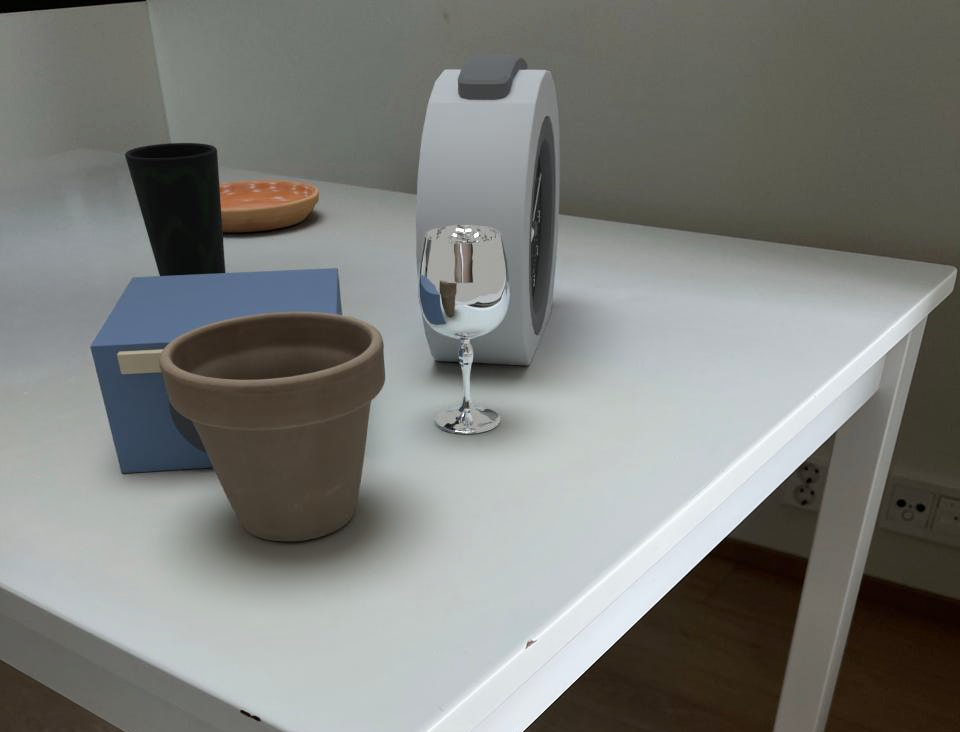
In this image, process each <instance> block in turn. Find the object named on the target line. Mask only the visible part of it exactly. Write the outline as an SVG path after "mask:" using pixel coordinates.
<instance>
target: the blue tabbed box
mask: <svg viewBox="0 0 960 732" xmlns="http://www.w3.org/2000/svg"><path fill="white" fill-rule="evenodd" d="M340 286H341V285H340V277H339V268H338V267H329V268H328V267H327V268H307V269H288V270H287V269H285V270H263V271H243V272H225V273H218V274H196V275H175V276H160V275H155V276H133V277H132V278H131V279H130V281H129V283H128V284H127V285H126V288H125V289H124V291H123V292H122V293H121V296H120V297H119V299H118V300H117V302H116V304H115V305H114V307H113V308H112V310H111V312H110V313H109V315H108V317H107V318H106V320H105V322H104V323H103V325H102V326H101V328H100V329H99V332H97V334H96V336H95V337H94V339H93V340H92V343H91V344H90V347H89V348H90V352H91V356H92V360H93V363H94V364H93V365H94V368H95V371H96V376H97V380H98V384H99V388H100V392H101V396H102V400H103V403H104V404H103V405H104V407H105V413H106V416H107V421H108V425H109V429H110V432H111V436H112V437H111V438H112V441H113V445H114V450H115V453H116V457H117V461H118V465H119V469H120V473H121V474H129V473H130V474H132V473H147V472H165V471H180V470H181V471H182V470H199V469H214V468H213V465H212V463H211V461H210V459H209V456H208V454H207V452H206V450H205V447H204V445H203V443H202V441H201V438H200V436H199V434H198V432H197V430H196V428H195V426H194V424H193V422H192V420H190V419H188V418H186V417H184V416H183V415H181V414H180V413H179V412H177V411H176V410H175V409H174V408H173V406H172V405H171V403H170V400H169V397H168V394H167V390H166V386H165V382H164V378H163V374H162V371H161V369H160V364H159V358H160V354H161V352H162V350H163V349H164V348H165V347H166V346H167V345H168V344H169V343H170V342H171V341H173V340H174V339H176V338H177V337H179V336H181V335H183V334H185V333H187V332H189V331H192V330H194V329H196V328H199V327H202V326H205V325H208V324H212V323H215V322H219V321H223V320H227V319H232V318H237V317H243V316H249V315H257V314H264V313H277V312H320V313H330V314H338V315H343V307H342V298H341V288H340Z"/></svg>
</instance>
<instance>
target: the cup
mask: <svg viewBox="0 0 960 732" xmlns="http://www.w3.org/2000/svg"><path fill="white" fill-rule="evenodd" d="M124 158H125V160H126V164H127V167H128V171H129V174H130V178H131V180H132V185H133V188H134V192H135V195H136V199H137V202H138V206H139V209H140V213H141V216H142V219H143V223H144V226H145V231H146V234H147V236H148V240H149V244H150V247H151V251H152V254H153V258H154V261H155V264H156V268H157V272H158V276H175V275H196V274H218V273H226V262H225V248H224V247H225V246H224V232H223V229H222V215H221V200H220V186H219V184H220V172H219V162H218V161H219V157H218V149H217V147H216V146H214V145H212V144H207V143H199V142H173V143H172V142H170V143H159V144H158V143H157V144H149V145H145V146H144V145H143V146H139V147H135V148H131V149H129V150H127V151H126V152H125V153H124Z"/></svg>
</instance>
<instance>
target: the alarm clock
mask: <svg viewBox="0 0 960 732" xmlns="http://www.w3.org/2000/svg"><path fill="white" fill-rule="evenodd" d="M434 81H435V82H434V84H433V87H432V90H431V93H430V96H429V99H428V103H427V106H426V113H425V117H424V118H425V119H424V121H423V127H422V133H421V138H420V139H421V140H420V150H419V158H418V159H419V160H418V169H417V183H416V203H415V205H416V207H415V240H416V241H415V243H416V244H415V246H416V248H415V250H416V253H415V254H416V272H417V276H418V275H419V265H420V258H421V252H422V247H423V241H424V236H425V233H426V232H427V231H429V230H432V229H435V228H438V227H444V226H451V225H481V226H487V227H492V228H495V229H497V230H499V231H500V232H501V236H502V240H503V244H504V248H505V253H506V257H507V262H508V268H509V276H510V301H509V308H508V311H507V314H506V316H505V318H504V320H503V321H502V323H501V324H500V325H499V326H498V327H497V328H496V329H495V330H494V331H492V332H491V333H489V334H487V335H485V336H482V337H480V338H477V339H472V340H470V344H471V346H472V348H473V354H474V355H473V362H472V364H489V365H509V366H530V365H531V364H532V361H533V359H534V356H535V353H536V351H537V349H538V346H539V343H540V342H541V338H542V336H543V333H544V331H545V328H546V326H547V323H548V321H549V319H550V316H551V314H552V313H551V312H552V306H553V298H554V287H555V277H556V267H557V253H558V241H559V239H558V238H559V220H560V219H559V218H560V194H561V193H560V187H561V186H560V185H561V183H560V182H561V180H560V179H561V154H560V153H561V150H560V145H561V144H560V143H561V142H560V141H561V140H560V122H559V121H560V120H559V119H560V118H559V106H558V98H557V92H556V90H557V89H556V85H555V81H554V78H553V75H552V72H551V71H550V70H546V69H528V63H527V61H526V60H525V59H524V58H523V57H522V56H521V55H519V54H473V55H472V56H471V57H469V58H468V59H467V60H466V61H465V62H464V64H463V65H462V68H460V69H453V68H451V69H448V68H447V69H444V70H443V71H442V73H440V75H439V76H438V78H437V79H436V80H434ZM421 317H422V322H423V329H424V334H425V338H426V341H427V345H428V347H429V352H430V354H431V356H432V358H433V360H434V361H436V362H447V363H448V362H449V363H450V362H451V363H460V362H459V356H458V353H459V346H460V345H461V340H456V339H452V338H449V337H446V336H444V335H442V334H440V333H438V332H437V331H435V330H434V329H432V328H431V326H430V325H429V324H428V323H427V322H426V320H425V318H424V316H423V314H422V313H421Z"/></svg>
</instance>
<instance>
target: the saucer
mask: <svg viewBox="0 0 960 732" xmlns="http://www.w3.org/2000/svg"><path fill="white" fill-rule="evenodd" d="M219 186H220V200H221V215H222V229H223V233H231V234H232V233H254V232H265V231H272V230H279V229H282V228H288V227H291V226H294V225H297V224H299V223H301V222H303V221H305V219H307V217H308V216H309V215H310V213H311V211H313V210H314V209H315V207H316V205H317V204H318V203H319V201H320V190H319V189H318V188H317V187H316V186H314V185H312V184H309V183H306V182H301V181H293V180H282V179H281V180H280V179H279V180H277V179H261V180H260V179H259V180H258V179H257V180H256V179H255V180H242V181H232V182H231V181H229V182H224V183H219Z"/></svg>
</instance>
